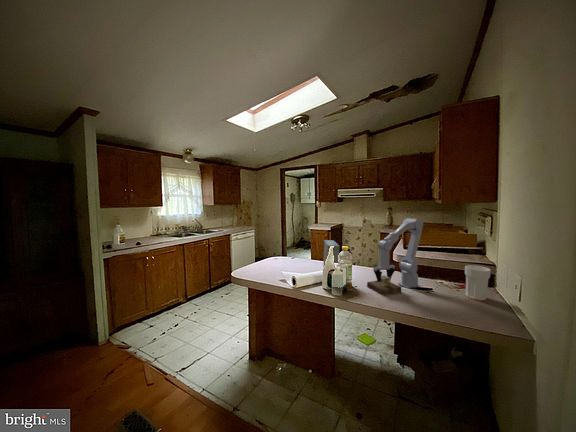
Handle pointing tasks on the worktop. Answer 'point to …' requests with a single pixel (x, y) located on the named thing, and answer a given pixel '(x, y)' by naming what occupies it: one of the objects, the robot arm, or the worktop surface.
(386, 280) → the birch cube
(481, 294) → the cup
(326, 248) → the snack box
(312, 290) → the worktop surface
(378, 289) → the walnut base
